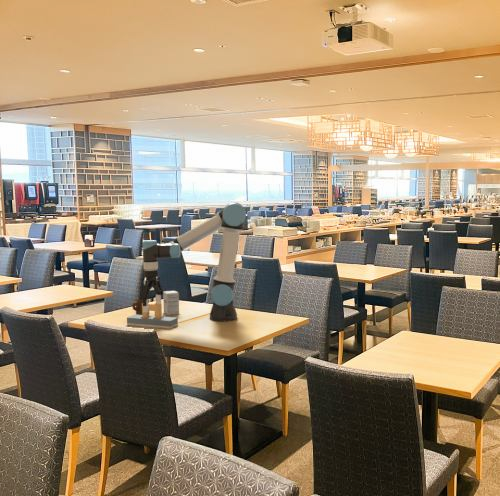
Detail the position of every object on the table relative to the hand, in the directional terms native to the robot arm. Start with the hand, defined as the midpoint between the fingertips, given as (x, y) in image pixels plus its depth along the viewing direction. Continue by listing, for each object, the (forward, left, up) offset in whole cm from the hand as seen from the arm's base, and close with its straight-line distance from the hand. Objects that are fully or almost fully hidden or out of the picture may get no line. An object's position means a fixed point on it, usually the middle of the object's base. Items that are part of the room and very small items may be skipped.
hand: (152, 309), depth 301 cm
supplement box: (+4, -29, -9) cm, 30 cm away
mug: (+17, -16, -9) cm, 25 cm away
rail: (0, 0, -8) cm, 8 cm away
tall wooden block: (0, 0, -7) cm, 7 cm away
